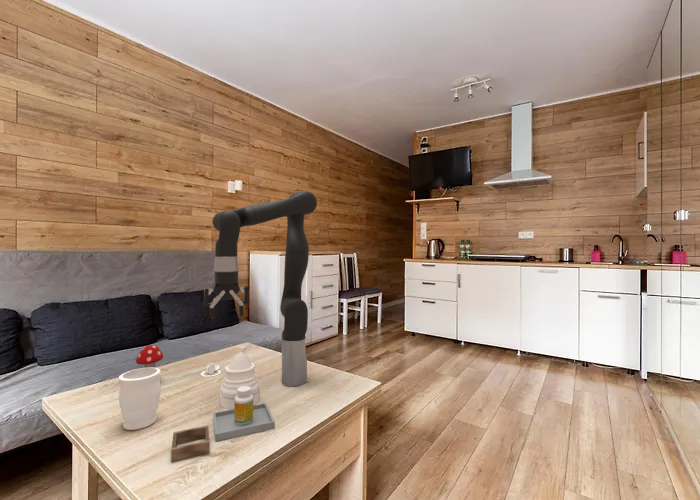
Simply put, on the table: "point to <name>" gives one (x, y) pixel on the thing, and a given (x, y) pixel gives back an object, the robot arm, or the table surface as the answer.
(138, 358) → the decorative mushroom
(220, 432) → the tray
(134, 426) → the jar
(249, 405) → the supplement bottle
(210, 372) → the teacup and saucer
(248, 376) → the honey pot
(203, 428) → the holder
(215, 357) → the table surface
